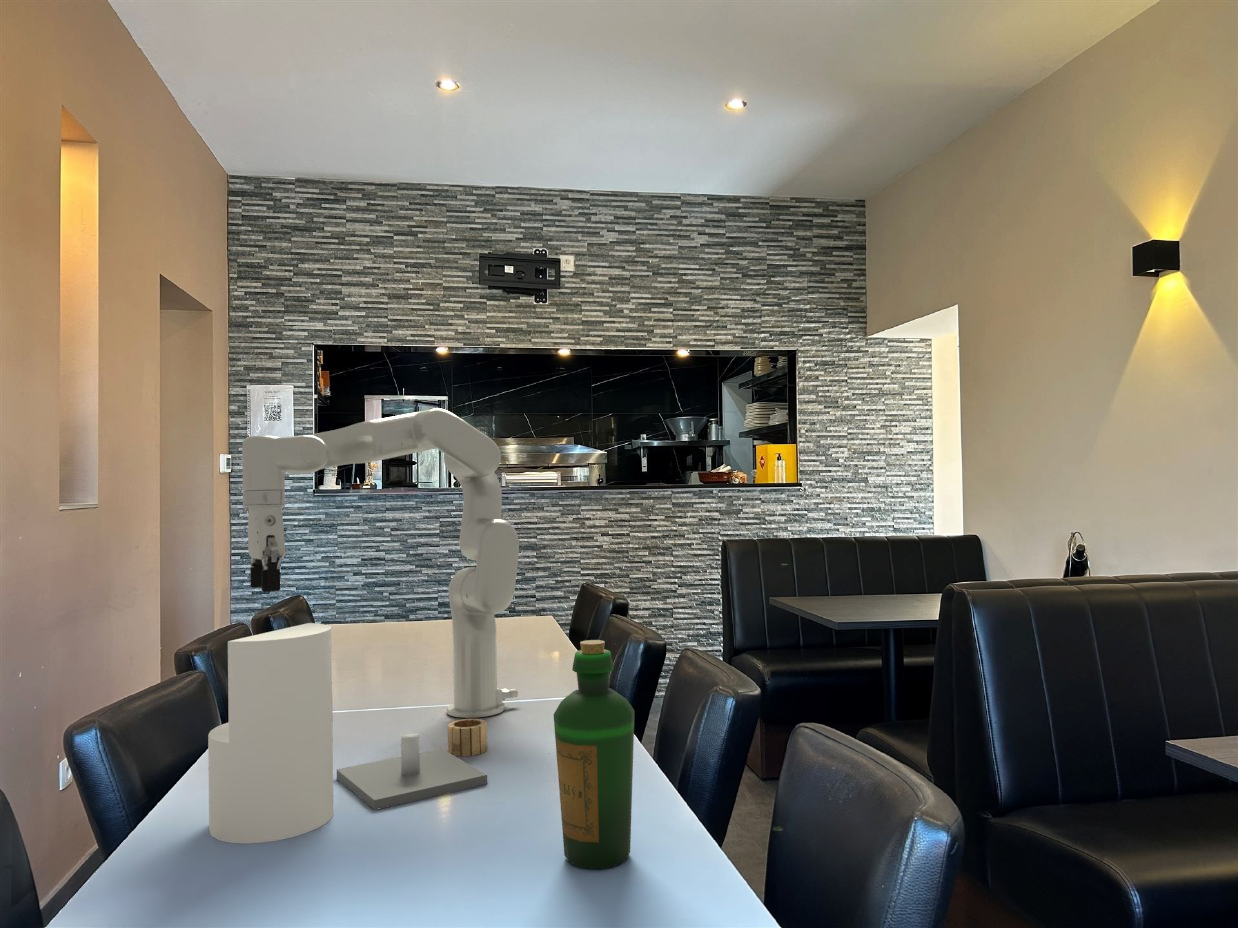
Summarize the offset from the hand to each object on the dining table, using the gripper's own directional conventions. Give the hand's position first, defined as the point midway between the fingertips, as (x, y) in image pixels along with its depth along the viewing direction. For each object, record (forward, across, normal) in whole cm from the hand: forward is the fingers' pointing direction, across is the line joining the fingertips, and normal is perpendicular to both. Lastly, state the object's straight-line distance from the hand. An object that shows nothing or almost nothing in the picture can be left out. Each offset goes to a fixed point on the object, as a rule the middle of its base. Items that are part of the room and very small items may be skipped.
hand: (265, 589), depth 168 cm
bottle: (+31, -80, -24) cm, 89 cm away
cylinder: (+31, -39, +8) cm, 50 cm away
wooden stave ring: (+31, -25, -30) cm, 50 cm away
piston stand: (+31, -35, -15) cm, 49 cm away
